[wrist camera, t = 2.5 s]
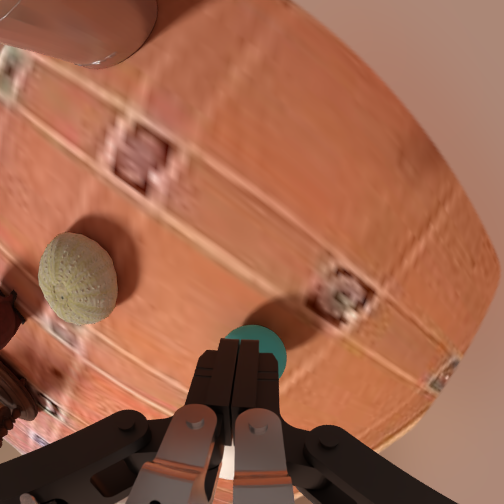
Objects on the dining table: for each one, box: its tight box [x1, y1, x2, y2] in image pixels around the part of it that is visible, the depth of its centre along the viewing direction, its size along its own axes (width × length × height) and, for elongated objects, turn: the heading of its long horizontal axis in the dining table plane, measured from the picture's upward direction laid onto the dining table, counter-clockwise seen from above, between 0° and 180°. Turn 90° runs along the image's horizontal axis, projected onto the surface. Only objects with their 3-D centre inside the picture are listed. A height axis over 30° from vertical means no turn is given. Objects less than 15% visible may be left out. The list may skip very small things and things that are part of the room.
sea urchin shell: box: [38, 232, 118, 325], centre depth 25 cm, size 9×8×8 cm
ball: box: [225, 325, 287, 378], centre depth 25 cm, size 6×6×6 cm
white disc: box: [219, 440, 235, 480], centre depth 36 cm, size 14×14×1 cm
